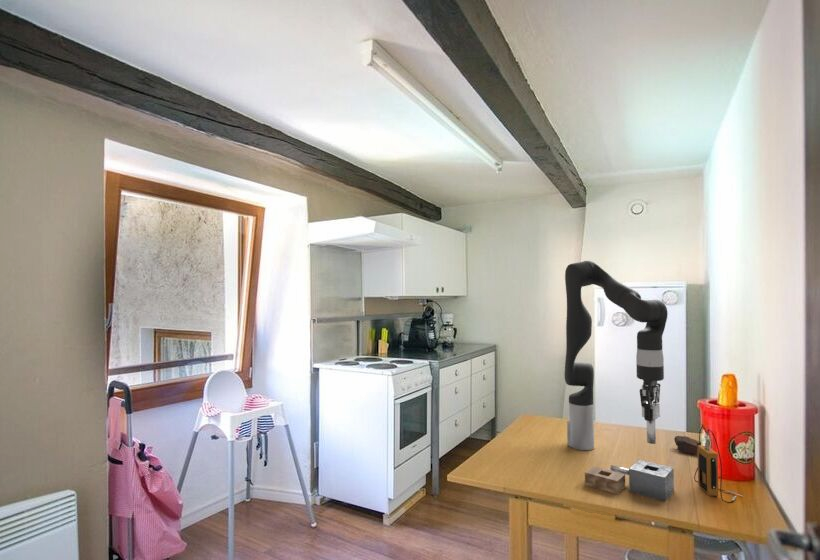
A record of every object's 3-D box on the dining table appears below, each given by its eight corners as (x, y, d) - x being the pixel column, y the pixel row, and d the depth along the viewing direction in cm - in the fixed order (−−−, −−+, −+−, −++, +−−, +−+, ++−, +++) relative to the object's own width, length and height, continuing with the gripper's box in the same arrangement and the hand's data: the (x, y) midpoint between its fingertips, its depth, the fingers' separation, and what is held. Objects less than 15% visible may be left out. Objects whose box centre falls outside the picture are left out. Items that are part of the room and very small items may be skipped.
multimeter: (752, 504, 131) (750, 435, 132) (714, 502, 133) (713, 433, 134) (726, 483, 146) (725, 420, 146) (692, 481, 148) (691, 419, 148)
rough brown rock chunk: (705, 440, 172) (676, 430, 178) (702, 451, 168) (672, 441, 174) (704, 451, 175) (674, 442, 181) (701, 463, 170) (670, 453, 176)
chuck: (606, 485, 145) (605, 462, 145) (616, 475, 153) (616, 454, 153) (665, 501, 134) (665, 477, 134) (673, 490, 141) (673, 467, 141)
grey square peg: (656, 445, 138) (655, 405, 139) (642, 442, 141) (641, 403, 141) (660, 442, 141) (659, 403, 142) (646, 439, 144) (645, 401, 144)
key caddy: (585, 485, 145) (584, 472, 145) (593, 478, 150) (593, 466, 151) (617, 494, 139) (617, 481, 139) (625, 487, 144) (625, 474, 144)
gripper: (656, 368, 134) (657, 426, 134) (669, 362, 144) (670, 416, 144) (629, 365, 139) (630, 421, 139) (643, 359, 149) (644, 412, 149)
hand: (650, 418), depth 141 cm, fingers closed on grey square peg, 4 cm apart
